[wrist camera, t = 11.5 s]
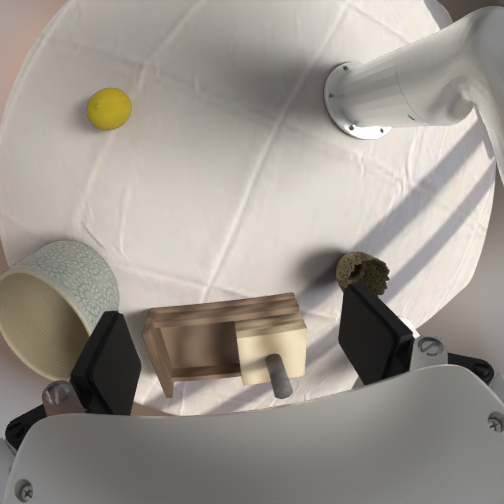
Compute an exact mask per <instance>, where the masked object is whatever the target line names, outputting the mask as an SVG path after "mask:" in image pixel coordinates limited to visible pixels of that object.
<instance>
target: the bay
mask: <svg viewBox="0 0 504 504" xmlns="http://www.w3.org/2000/svg"><path fill="white" fill-rule="evenodd" d="M295 312H299V305H298V303H297V301H296V300H295V295H294V293H287V294H280V295H273V296H265V297H257V298H249V299H241V300H232V301H224V302H214V303H205V304H195V305H184V306H173V307H161V308H151V309H150V312H149V315H148V317H147V320H146V323H145V326H144V329H143V332H142V336H143V339H144V342H145V345H146V347H147V350H148V353H149V356H150V358H151V361H152V364H153V366H154V369H155V371H156V374H157V376H158V379H159V381H160V384H161V386H162V388H163V391H164V393H165V395H166V398H172V395H173V386H174V382H176V381H194V380H207V379H219V378H229V377H237V376H241V369H240V362H239V354H238V347H237V339H236V331H235V322H234V321H238V320H246V319H254V318H261V317H269V316H276V315H282V314H289V313H295Z"/></svg>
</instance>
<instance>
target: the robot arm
mask: <svg viewBox="0 0 504 504" xmlns="http://www.w3.org/2000/svg"><path fill="white" fill-rule="evenodd" d="M329 95H330V96H331V98H330V97H329ZM324 98H325V103H326V107H327V109H328V112H329V114H330V115H331V117H332V119H333V120H334V122H335V123H336V124H337V125H338V126H339V127H340V128H341V129H342V130H343V131H344V132H346V133H347V134H349V135H351V136H353V137H356V138H358V139H364V140H371V139H377V138H380V137H382V136H384V135H385V134H387V133H388V132H389V131H390V129H391V128H395V127H415V126H448V125H454V124H457V123H459V122H460V121H462V120H463V119H465V118H466V117H467V116H468V114H469V113H470V112H471V110H472V109H473V107H474V105H476V106H477V108H478V110H479V113H480V115H481V117H482V120H483V122H484V124H485V126H486V129H487V131H488V134H489V137H490V140H491V144H492V147H493V150H494V154H495V157H496V161H497V165H498V168H499V173H500V176H501V179H502V182H503V185H504V7H499V6H491V7H485V8H482V9H479V10H476V11H475V12H472V13H470V14H468V15H466V16H465V17H463V18H462V19H460V20H458V21H456V22H455V23H453V24H451V25H450V26H448V27H446V28H444V29H442V30H440V31H438V32H436V33H434V34H432V35H430V36H427V37H425V38H423V39H420V40H418V41H416V42H413V43H411V44H408V45H406V46H404V47H401V48H399V49H397V50H394V51H392V52H390V53H388V54H385V55H383V56H381V57H379V58H377V59H375V60H373V61H370V62H368V63H366V64H364V63H360V62H348V63H344V64H342V65H340V66H338V67H336V68H335V69H334V70H333V71H332V72H331V73H330V75H329V76H328V78H327V80H326V83H325V88H324ZM349 128H350V130H349ZM412 335H413V332H412V331H411V330H410V329H409V328H408V327H407V326H406V325H405V324H404V323H403V322H402V321H401V320H400V319H399V318H398V317H397V316H396V315H395V314H394V313H393V312H392V311H391V310H390V309H389V308H388V307H387V306H386V305H385V304H384V303H383V302H382V301H381V300H380V299H379V298H378V297H377V296H376V295H375V294H374V293H373V292H372V291H371V290H370V289H369V288H368V287H367V286H365V285H364V284H363V283H362V282H356V283H350V284H348V286H347V287H346V288H345V289H344V293H343V303H342V313H341V321H340V329H339V337H338V340H339V344H340V346H341V348H342V349H343V351H344V352H345V354H346V356H347V357H348V359H349V361H350V362H351V364H352V365H353V367H354V369H355V370H356V372H357V374H358V375H359V377H360V378H361V380H362V382H363V383H364V385H365V386H362V387H358V388H354V389H351V390H347V391H344V392H340V393H336V394H332V395H328V396H324V397H320V398H316V399H311V400H307V401H302V402H297V403H292V404H287V405H281V406H275V407H269V408H263V409H256V410H249V411H241V412H232V413H221V414H209V415H193V416H130V414H131V409H132V404H133V400H134V396H135V392H136V388H137V384H138V380H139V376H140V372H141V362H140V359H139V357H138V354H137V352H136V349H135V347H134V344H133V341H132V339H131V336H130V333H129V330H128V327H127V324H126V322H125V319H124V316H123V314H120V313H119V312H118V311H117V310H116V311H105V312H104V313H103V315H102V316H101V318H100V320H99V321H98V323H97V325H96V327H95V328H94V330H93V332H92V334H91V336H90V337H89V339H88V341H87V343H86V345H85V347H84V348H83V350H82V352H81V354H80V356H79V358H78V360H77V362H76V364H75V366H74V368H73V370H72V372H71V374H70V376H71V378H70V380H69V382H68V381H65V380H57V381H54V382H52V383H50V384H49V385H48V386H47V387H46V388H45V389H44V391H43V393H42V401H43V404H42V405H40V406H38V407H36V408H35V409H32V410H30V411H29V412H27V413H25V414H23V415H21V416H19V417H17V418H16V419H14V420H12V421H11V422H10V423H9V424H8V426H7V428H6V431H5V436H6V439H5V440H4V439H3V438H1V439H0V504H504V375H502V374H501V373H497V374H496V375H494V370H493V368H492V366H491V365H490V364H489V363H487V362H486V361H484V360H481V359H477V358H471V357H466V356H461V355H457V354H452V353H448V349H447V345H446V343H445V342H444V341H443V340H442V339H440V338H439V337H437V336H433V335H421V336H419V337H417V338H416V339H415V338H414V337H413V336H412Z"/></svg>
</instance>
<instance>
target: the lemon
mask: <svg viewBox="0 0 504 504" xmlns="http://www.w3.org/2000/svg"><path fill="white" fill-rule="evenodd" d="M130 113H131V102H130V99H129V97H128V96H127V94H125V93H124V92H123V91H121V90H119V89H116V88H106V89H102V90H100V91H98V92H97V93H95V94H94V95H93V96H92V98H91V99H90V101H89V103H88V105H87V116H88V119H89V121H90V122H91V123H92V124H93V125H94V126H95V127H97V128H99V129H102V130H112V129H116V128H118V127H120V126H121V125H123V124H124V123H125V122H126V121H127V119H128V117H129V116H130Z"/></svg>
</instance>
